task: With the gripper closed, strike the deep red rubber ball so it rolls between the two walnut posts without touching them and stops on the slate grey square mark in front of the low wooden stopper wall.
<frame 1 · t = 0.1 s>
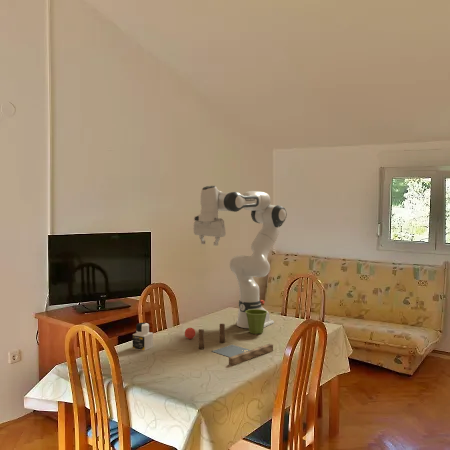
hand: (209, 244, 257), 48 cm above the table, tool pointing down, fingers open, 8 cm apart
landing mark: (232, 351, 236), on the table
ball: (190, 333, 257), on the table
post 1: (201, 348, 241), on the table
medicine bottle: (142, 348, 242), on the table
post 2: (222, 342, 251), on the table
plant pot: (256, 332, 268), on the table
stopper wall: (251, 357, 228), on the table
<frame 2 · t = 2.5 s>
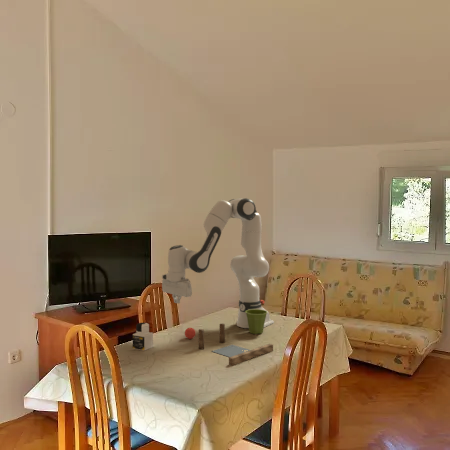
hand: (177, 302, 262), 17 cm above the table, tool pointing down, fingers closed
nothing on the table moved.
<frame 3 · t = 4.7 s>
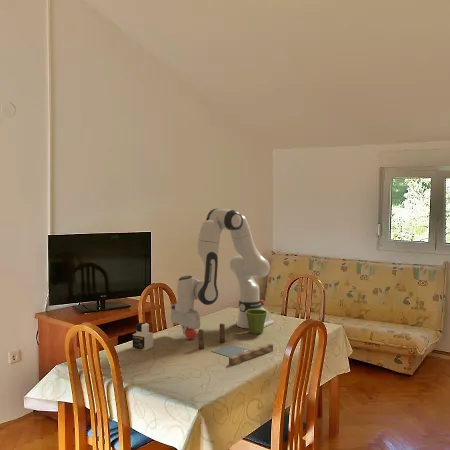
hand: (185, 334, 258), 2 cm above the table, tool pointing down, fingers closed
ball: (190, 333, 256), on the table, touching gripper
everything else where it was.
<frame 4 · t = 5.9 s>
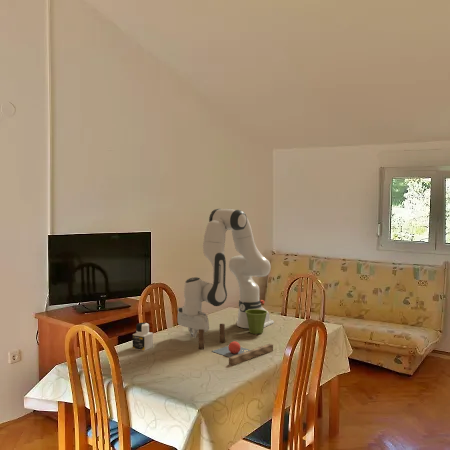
hand: (193, 336, 254), 2 cm above the table, tool pointing down, fingers closed
ball: (234, 347, 233), on the table
everything else where it was.
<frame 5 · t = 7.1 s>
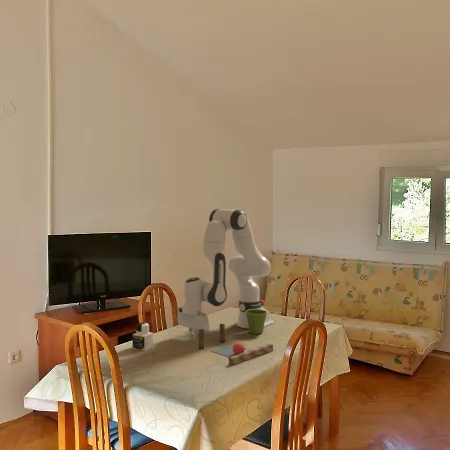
hand: (193, 336, 254), 2 cm above the table, tool pointing down, fingers closed
ball: (238, 349, 231), on the table
everything else where it was.
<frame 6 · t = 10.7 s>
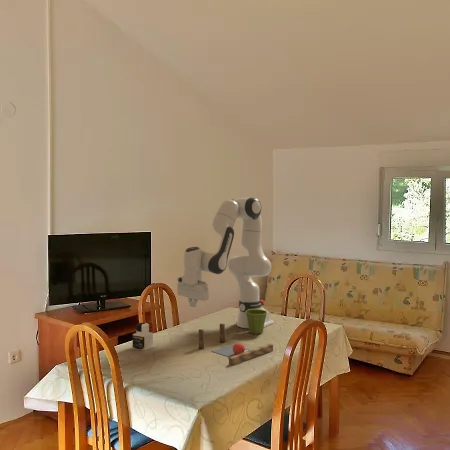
hand: (192, 306, 253), 17 cm above the table, tool pointing down, fingers closed
nothing on the table moved.
at the end: ball 6.0 cm from the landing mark (horizontally); ball never touched post 2; ball never touched post 1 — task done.
